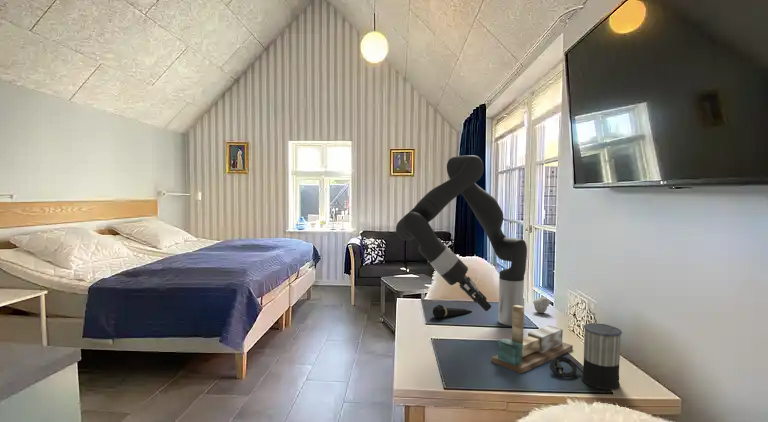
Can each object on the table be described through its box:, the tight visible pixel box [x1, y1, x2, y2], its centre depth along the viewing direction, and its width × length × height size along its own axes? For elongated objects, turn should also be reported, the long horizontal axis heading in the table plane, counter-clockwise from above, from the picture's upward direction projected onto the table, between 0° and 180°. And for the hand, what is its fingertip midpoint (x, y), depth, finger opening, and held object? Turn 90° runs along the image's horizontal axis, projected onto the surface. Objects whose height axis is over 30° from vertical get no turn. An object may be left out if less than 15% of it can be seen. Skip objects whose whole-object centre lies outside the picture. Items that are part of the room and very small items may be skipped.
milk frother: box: [549, 322, 623, 391], centre depth 113 cm, size 14×16×15 cm
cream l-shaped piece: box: [511, 305, 541, 357], centre depth 126 cm, size 18×3×15 cm, turn 128°
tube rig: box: [491, 325, 574, 374], centre depth 129 cm, size 29×10×7 cm, turn 128°
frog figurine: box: [532, 296, 551, 314], centre depth 175 cm, size 6×7×7 cm
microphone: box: [432, 304, 473, 320], centre depth 170 cm, size 6×6×20 cm
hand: (486, 304), depth 123 cm, fingers open, 8 cm apart
